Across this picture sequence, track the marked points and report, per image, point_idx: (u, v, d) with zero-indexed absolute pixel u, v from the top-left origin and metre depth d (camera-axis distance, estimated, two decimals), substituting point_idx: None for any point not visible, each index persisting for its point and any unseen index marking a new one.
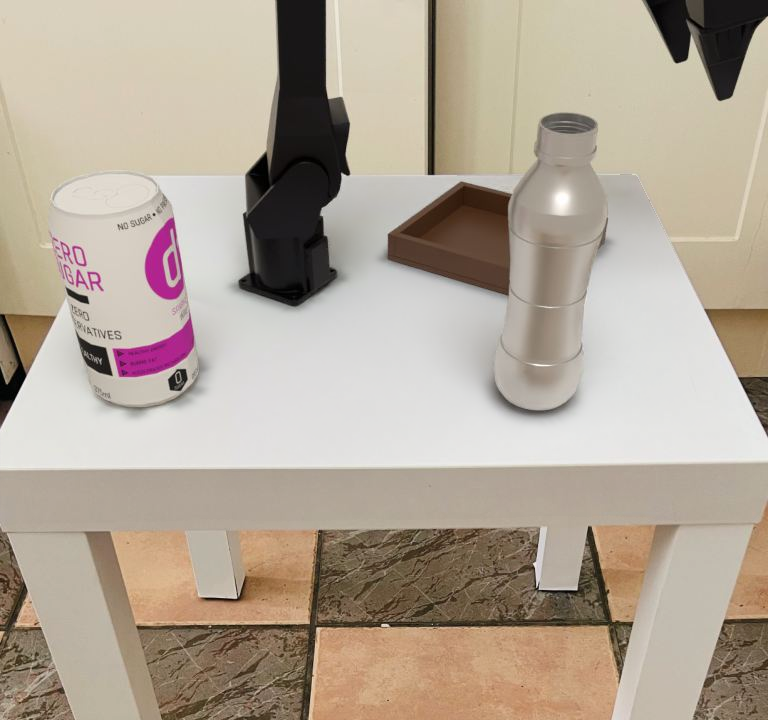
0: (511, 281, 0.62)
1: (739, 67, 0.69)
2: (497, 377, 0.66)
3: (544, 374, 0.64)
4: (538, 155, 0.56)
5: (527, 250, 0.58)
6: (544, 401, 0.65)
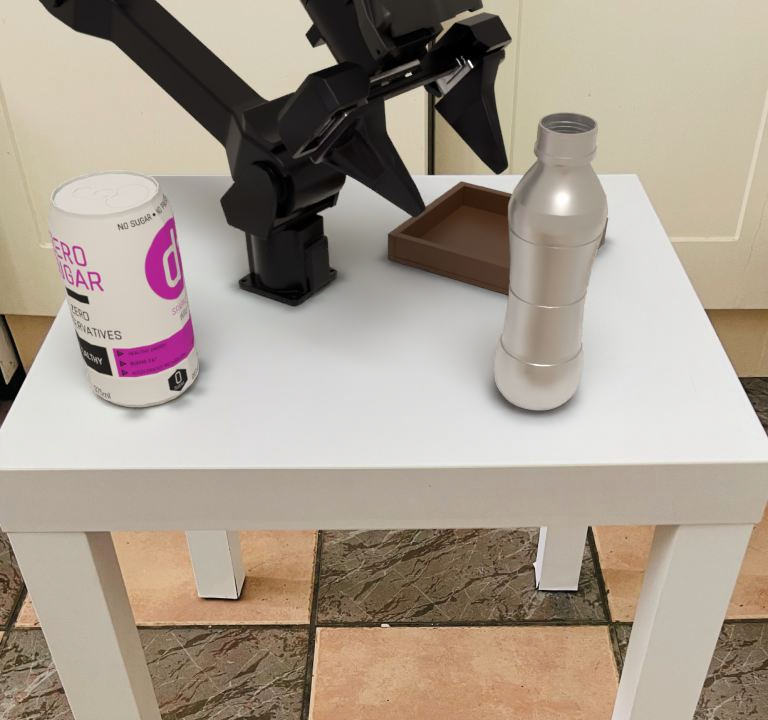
0: (511, 281, 0.62)
1: (399, 180, 0.59)
2: (497, 377, 0.66)
3: (544, 374, 0.64)
4: (538, 155, 0.56)
5: (527, 250, 0.58)
6: (544, 401, 0.65)
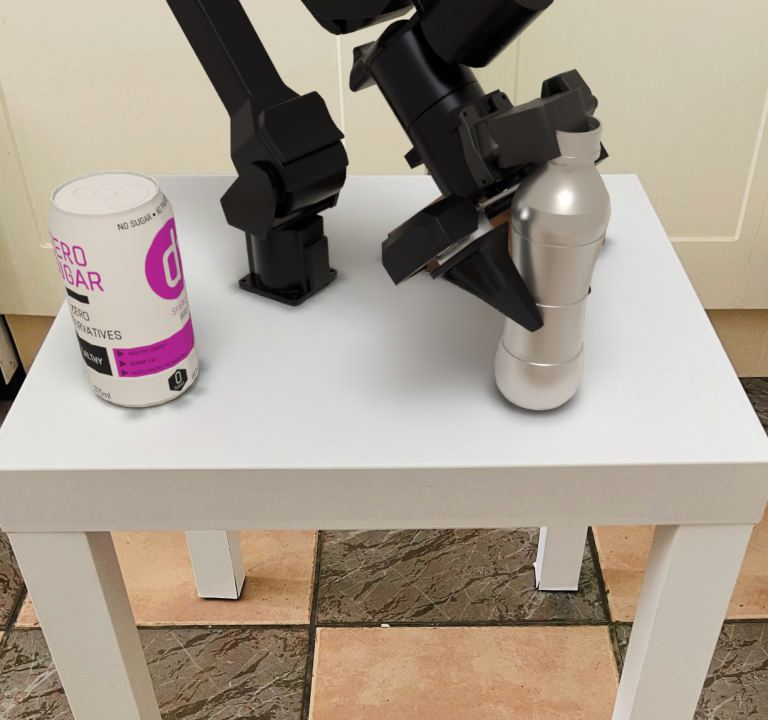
0: None
1: (519, 298, 0.60)
2: (498, 376, 0.66)
3: (544, 373, 0.64)
4: None
5: (530, 249, 0.58)
6: (545, 401, 0.65)
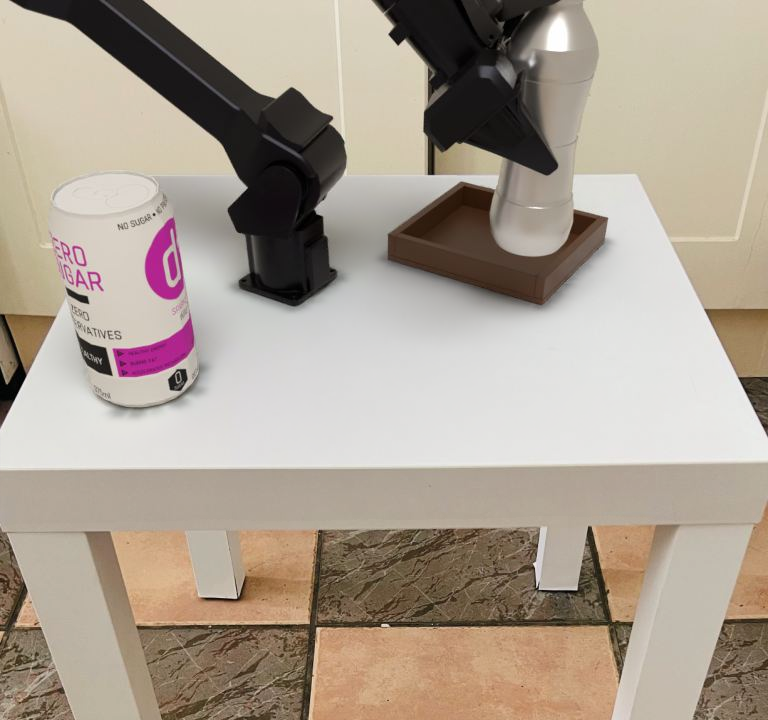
0: None
1: (540, 143, 0.64)
2: (506, 233, 0.70)
3: (557, 214, 0.69)
4: None
5: (546, 92, 0.63)
6: (556, 242, 0.71)
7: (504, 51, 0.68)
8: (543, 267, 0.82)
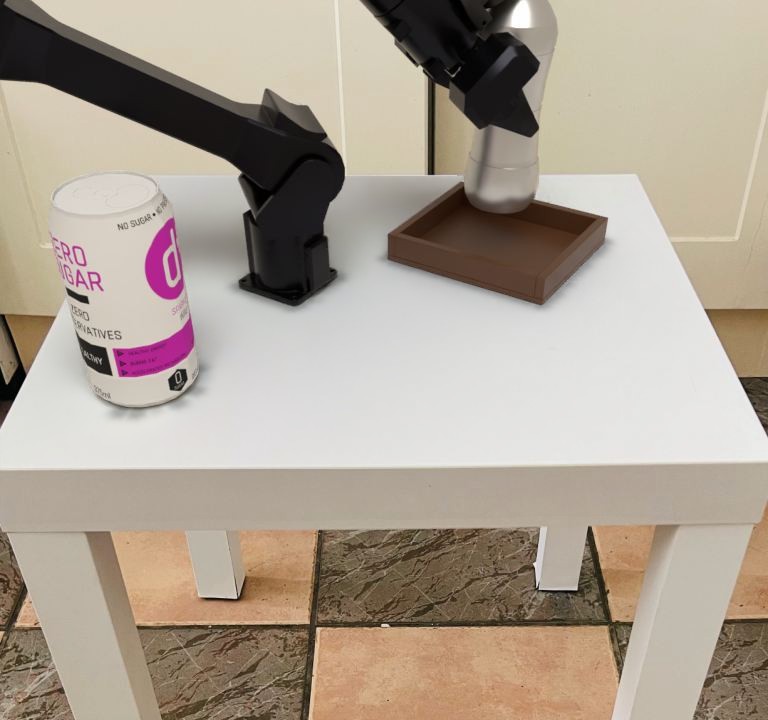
0: None
1: (529, 109, 0.74)
2: (495, 196, 0.79)
3: (535, 171, 0.79)
4: None
5: None
6: (534, 195, 0.81)
7: None
8: (543, 267, 0.82)
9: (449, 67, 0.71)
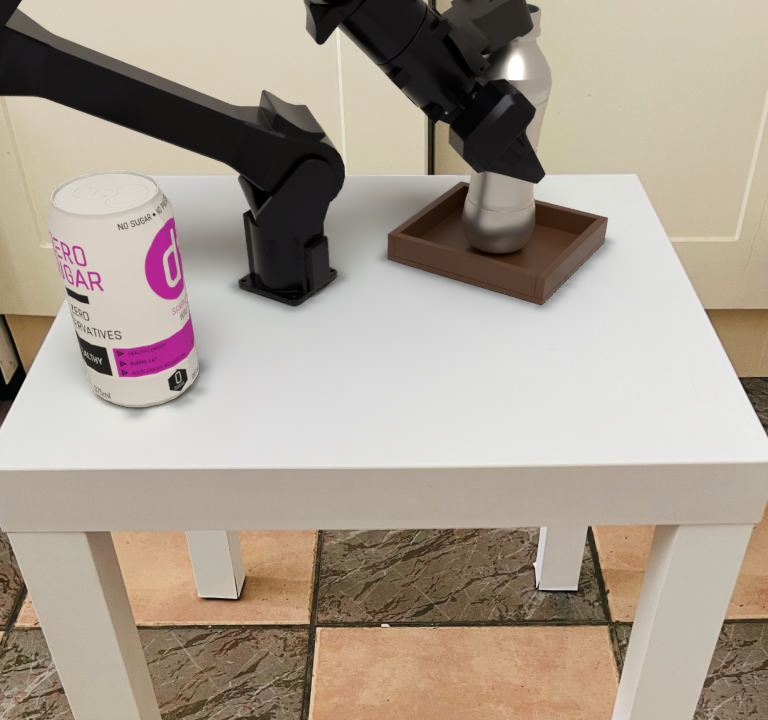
0: None
1: (535, 157, 0.75)
2: (493, 237, 0.82)
3: (531, 212, 0.81)
4: None
5: None
6: (530, 235, 0.83)
7: None
8: (543, 267, 0.82)
9: (448, 111, 0.73)
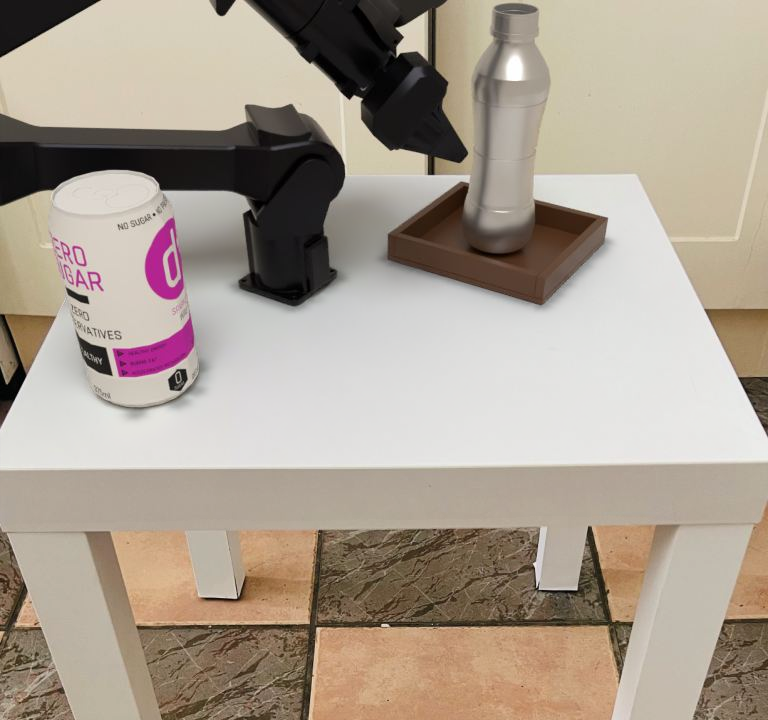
0: (497, 151, 0.77)
1: (455, 135, 0.71)
2: (493, 238, 0.82)
3: (531, 212, 0.81)
4: (514, 38, 0.72)
5: (523, 114, 0.75)
6: (530, 235, 0.83)
7: None
8: (543, 267, 0.82)
9: (363, 87, 0.70)
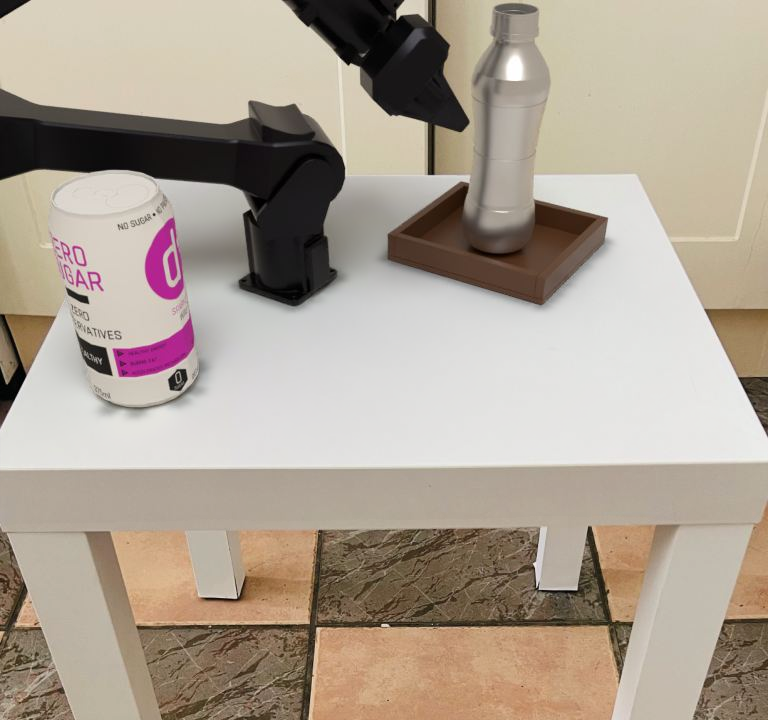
0: (497, 151, 0.77)
1: (456, 102, 0.70)
2: (493, 238, 0.82)
3: (531, 212, 0.81)
4: (514, 38, 0.72)
5: (523, 114, 0.75)
6: (530, 235, 0.83)
7: None
8: (543, 267, 0.82)
9: (362, 52, 0.68)
